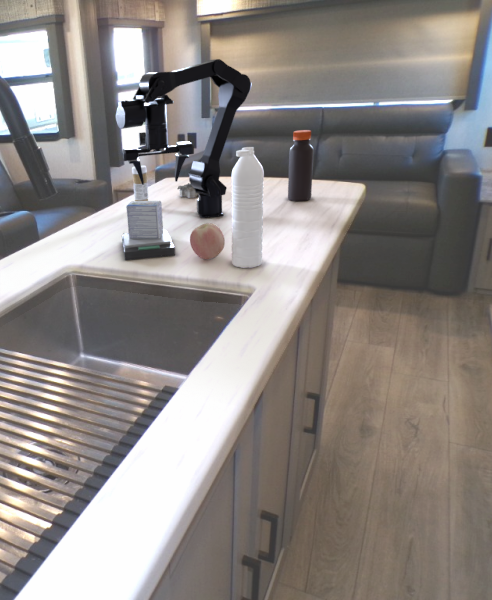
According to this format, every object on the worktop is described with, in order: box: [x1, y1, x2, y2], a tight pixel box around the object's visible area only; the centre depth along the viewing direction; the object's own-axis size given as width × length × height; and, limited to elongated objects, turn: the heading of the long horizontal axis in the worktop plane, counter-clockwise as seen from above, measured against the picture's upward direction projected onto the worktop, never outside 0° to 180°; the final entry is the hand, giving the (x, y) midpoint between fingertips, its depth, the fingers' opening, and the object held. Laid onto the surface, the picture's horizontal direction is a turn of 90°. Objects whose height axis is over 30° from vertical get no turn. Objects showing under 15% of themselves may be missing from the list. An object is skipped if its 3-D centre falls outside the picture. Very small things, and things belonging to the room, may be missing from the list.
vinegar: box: [287, 129, 315, 202], centre depth 161 cm, size 7×7×20 cm
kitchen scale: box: [121, 228, 176, 261], centre depth 134 cm, size 12×14×3 cm
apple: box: [189, 222, 226, 260], centre depth 123 cm, size 8×8×8 cm
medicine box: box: [125, 200, 164, 239], centre depth 133 cm, size 8×4×9 cm, turn 71°
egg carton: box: [177, 182, 199, 199], centre depth 183 cm, size 11×8×4 cm
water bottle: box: [230, 146, 265, 269], centre depth 113 cm, size 9×6×25 cm
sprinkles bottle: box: [131, 164, 149, 201], centre depth 169 cm, size 5×5×14 cm
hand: (159, 183), depth 148 cm, fingers open, 9 cm apart
